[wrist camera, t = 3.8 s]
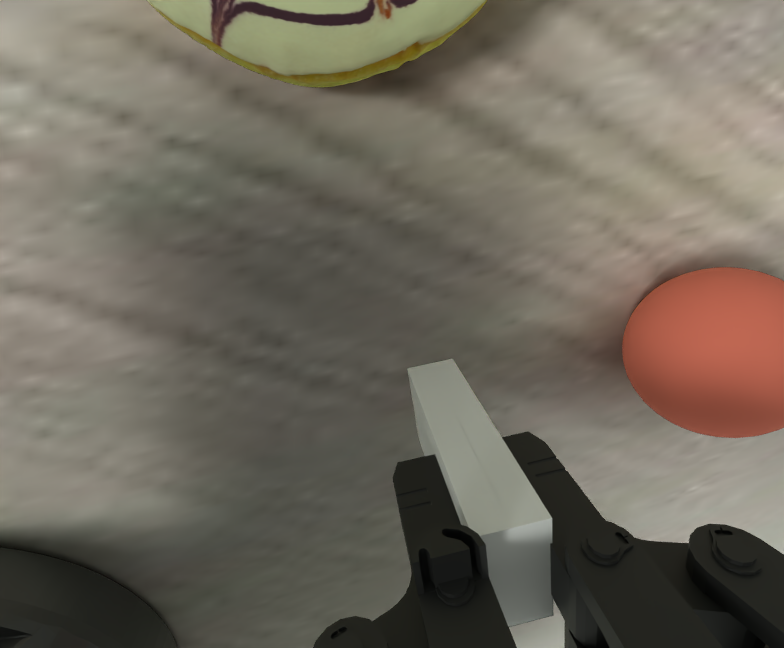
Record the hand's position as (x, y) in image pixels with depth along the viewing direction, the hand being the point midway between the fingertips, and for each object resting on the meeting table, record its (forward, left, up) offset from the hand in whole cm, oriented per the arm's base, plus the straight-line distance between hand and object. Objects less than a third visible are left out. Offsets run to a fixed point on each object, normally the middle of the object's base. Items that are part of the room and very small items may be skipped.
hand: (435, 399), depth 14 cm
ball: (+9, -2, +1) cm, 9 cm away
